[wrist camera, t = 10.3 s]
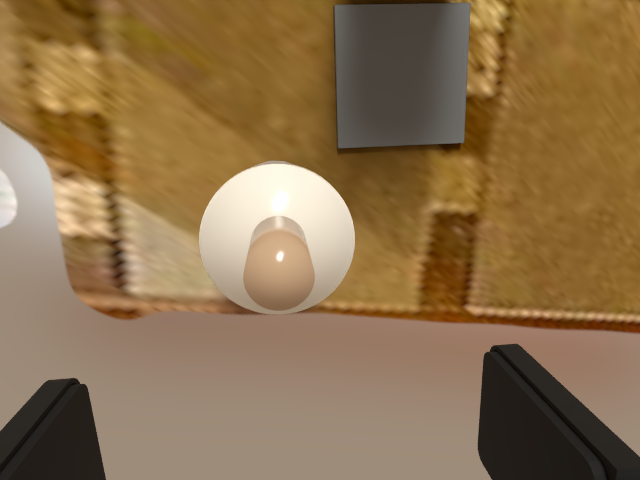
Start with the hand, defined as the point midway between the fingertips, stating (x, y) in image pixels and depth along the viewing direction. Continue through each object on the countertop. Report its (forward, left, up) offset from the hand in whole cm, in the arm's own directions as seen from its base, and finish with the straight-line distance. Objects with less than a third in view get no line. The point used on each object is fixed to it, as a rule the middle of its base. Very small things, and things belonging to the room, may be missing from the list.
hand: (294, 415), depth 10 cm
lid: (0, 0, -17) cm, 17 cm away
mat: (-11, -10, -29) cm, 33 cm away
